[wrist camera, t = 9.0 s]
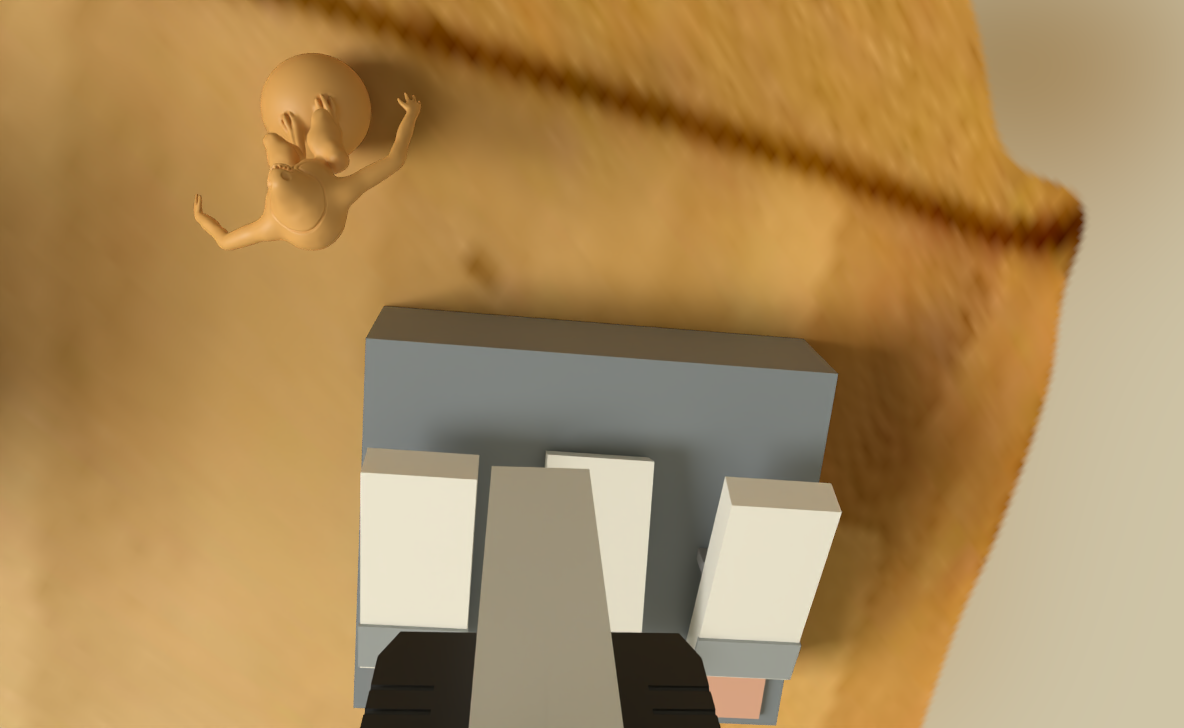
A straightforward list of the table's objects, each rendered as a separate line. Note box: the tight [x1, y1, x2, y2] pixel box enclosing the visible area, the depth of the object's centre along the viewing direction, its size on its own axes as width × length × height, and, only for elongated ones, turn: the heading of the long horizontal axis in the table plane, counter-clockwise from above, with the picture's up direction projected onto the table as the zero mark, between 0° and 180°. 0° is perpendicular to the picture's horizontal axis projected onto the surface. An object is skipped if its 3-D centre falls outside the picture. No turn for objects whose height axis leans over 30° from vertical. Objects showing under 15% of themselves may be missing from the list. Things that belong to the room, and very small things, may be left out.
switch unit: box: [354, 306, 838, 725], centre depth 42 cm, size 16×18×6 cm
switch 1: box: [358, 448, 479, 668], centre depth 37 cm, size 9×4×2 cm, turn 174°
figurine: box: [194, 53, 421, 250], centre depth 34 cm, size 8×6×12 cm
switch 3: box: [686, 476, 842, 680], centre depth 38 cm, size 9×4×2 cm, turn 174°
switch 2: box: [545, 451, 654, 633], centre depth 38 cm, size 9×4×2 cm, turn 175°
